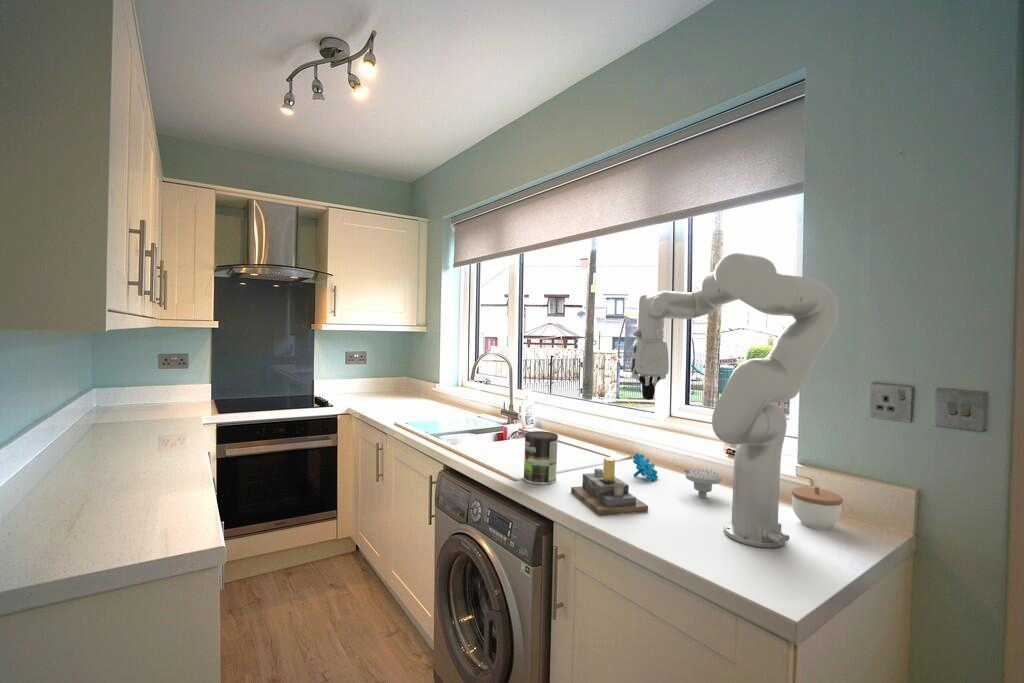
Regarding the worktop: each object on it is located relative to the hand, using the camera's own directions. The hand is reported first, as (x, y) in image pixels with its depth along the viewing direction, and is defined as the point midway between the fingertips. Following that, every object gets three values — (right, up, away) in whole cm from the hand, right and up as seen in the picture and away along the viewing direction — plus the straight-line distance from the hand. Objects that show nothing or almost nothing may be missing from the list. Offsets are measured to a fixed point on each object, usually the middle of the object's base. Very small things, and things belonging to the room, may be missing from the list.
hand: (648, 398), depth 142 cm
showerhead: (+15, -28, -2) cm, 31 cm away
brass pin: (-13, -25, -9) cm, 30 cm away
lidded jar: (+35, -29, -22) cm, 50 cm away
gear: (+3, -27, +14) cm, 31 cm away
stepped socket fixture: (-14, -27, -9) cm, 32 cm away
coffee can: (-31, -26, +9) cm, 42 cm away
